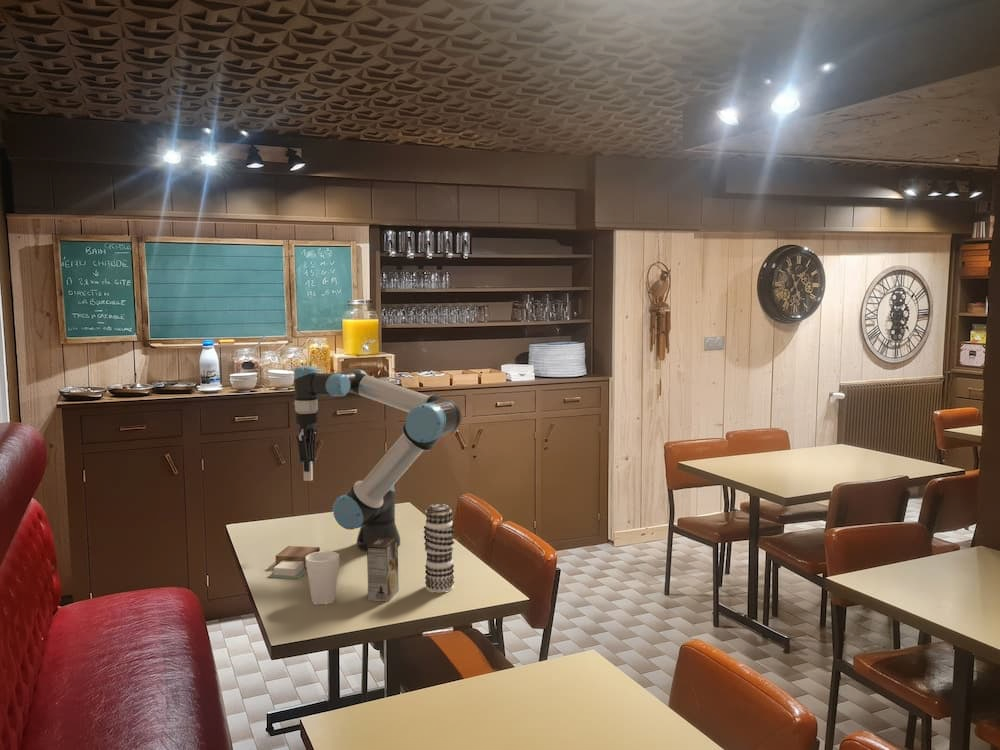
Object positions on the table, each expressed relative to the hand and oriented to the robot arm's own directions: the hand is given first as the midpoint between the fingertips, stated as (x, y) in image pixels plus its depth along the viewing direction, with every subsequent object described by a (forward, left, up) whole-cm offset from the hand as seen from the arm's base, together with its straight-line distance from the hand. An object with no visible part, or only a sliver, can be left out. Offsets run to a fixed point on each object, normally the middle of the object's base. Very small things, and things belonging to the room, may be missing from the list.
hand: (308, 480), depth 263 cm
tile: (-2, +23, -24) cm, 33 cm away
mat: (-2, +24, -24) cm, 34 cm away
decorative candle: (-52, +29, -25) cm, 64 cm away
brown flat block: (-2, +14, -24) cm, 28 cm away
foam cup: (-21, +43, -25) cm, 54 cm away
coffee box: (-37, +37, -25) cm, 58 cm away
